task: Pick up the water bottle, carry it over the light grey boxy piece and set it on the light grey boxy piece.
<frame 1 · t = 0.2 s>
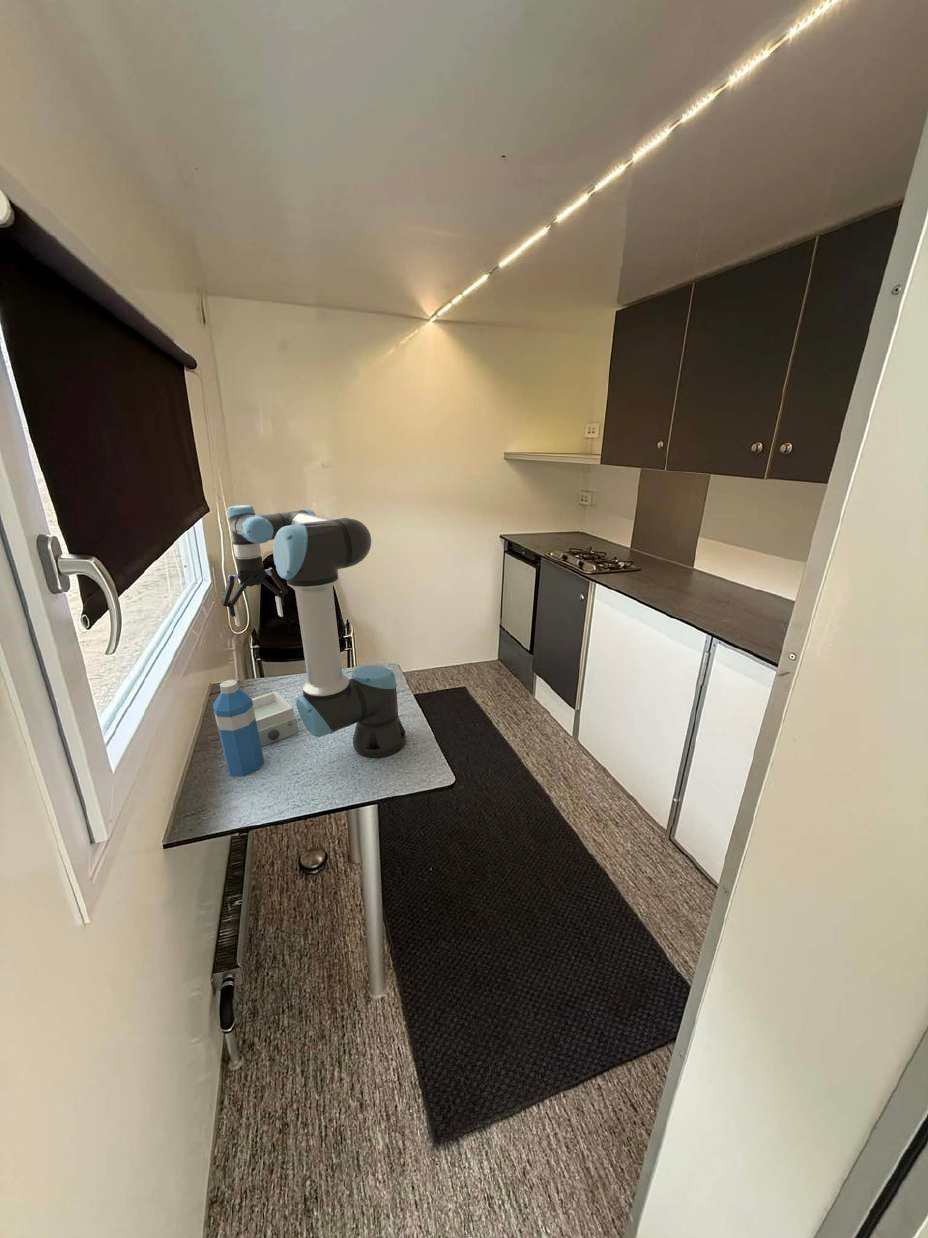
hand: (259, 620, 155), 28 cm above the table, fingers open, 13 cm apart
water bottle: (245, 766, 129), on the table
light grey boxy piece: (265, 730, 145), on the table
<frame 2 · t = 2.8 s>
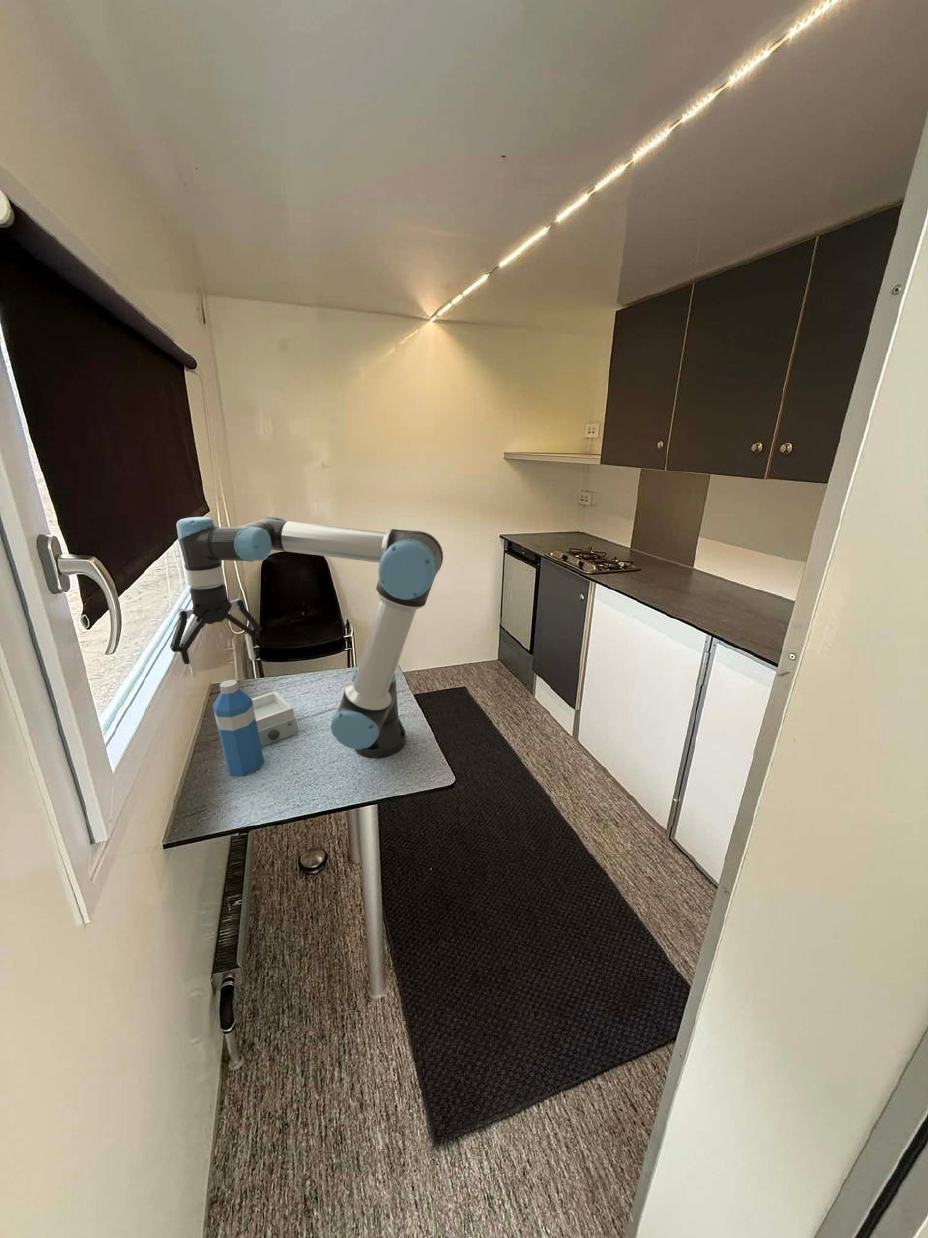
hand: (224, 666, 119), 30 cm above the table, fingers open, 13 cm apart
nothing on the table moved.
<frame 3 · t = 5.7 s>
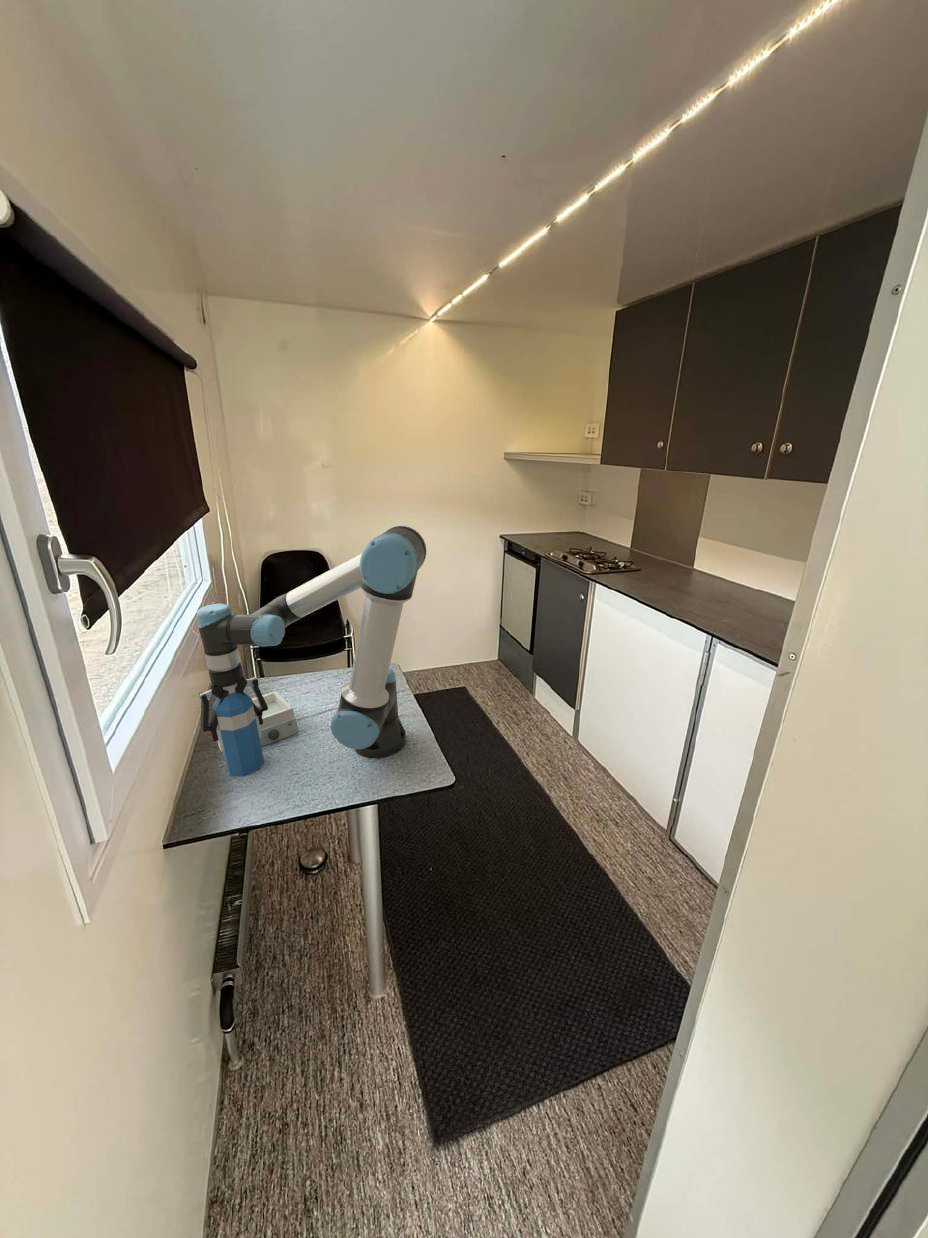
hand: (240, 742, 127), 7 cm above the table, fingers closed on water bottle, 9 cm apart
water bottle: (245, 766, 129), on the table, touching gripper
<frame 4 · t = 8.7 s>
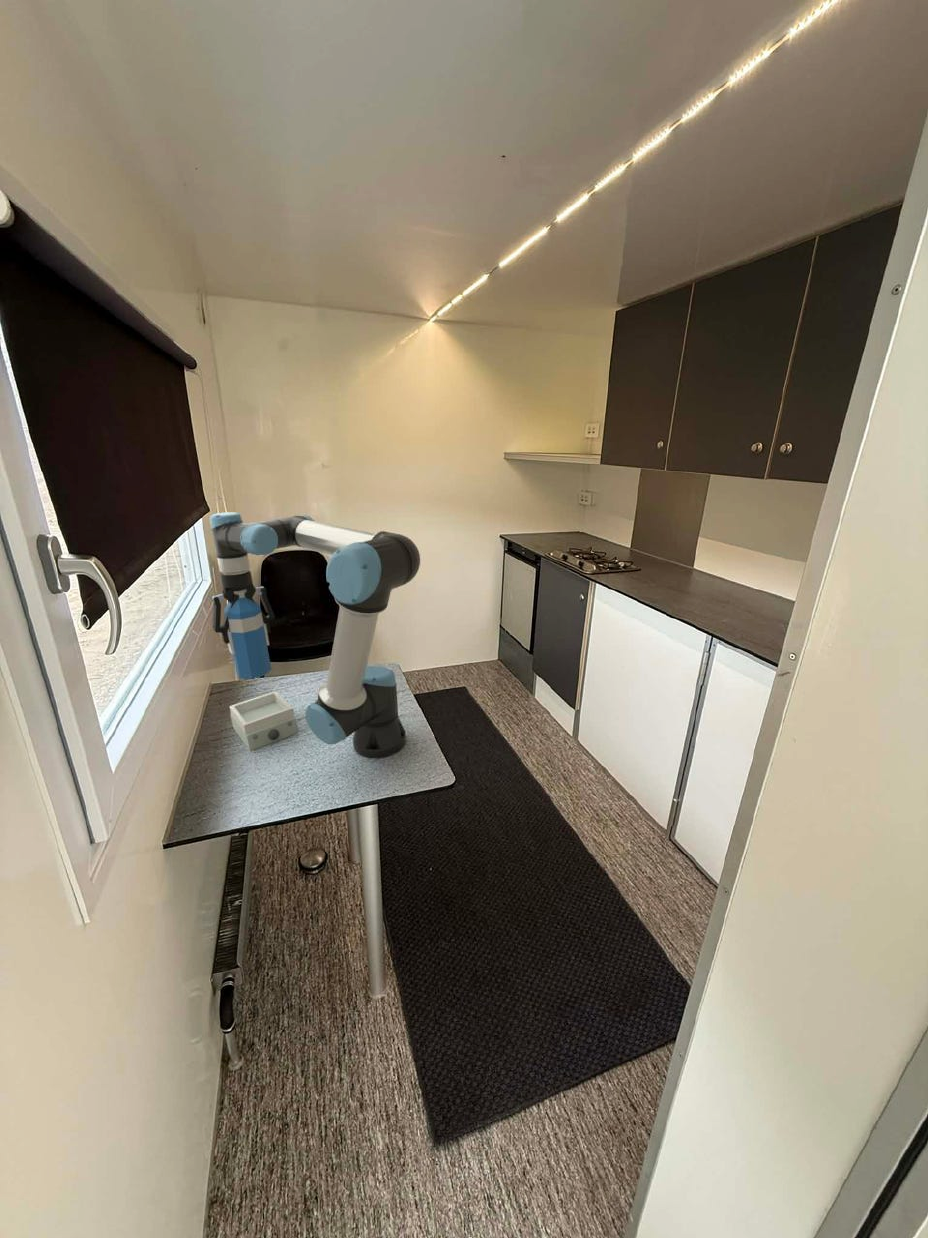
hand: (249, 648, 136), 27 cm above the table, fingers closed on water bottle, 9 cm apart
water bottle: (254, 672, 138), point 20 cm above the table, touching gripper
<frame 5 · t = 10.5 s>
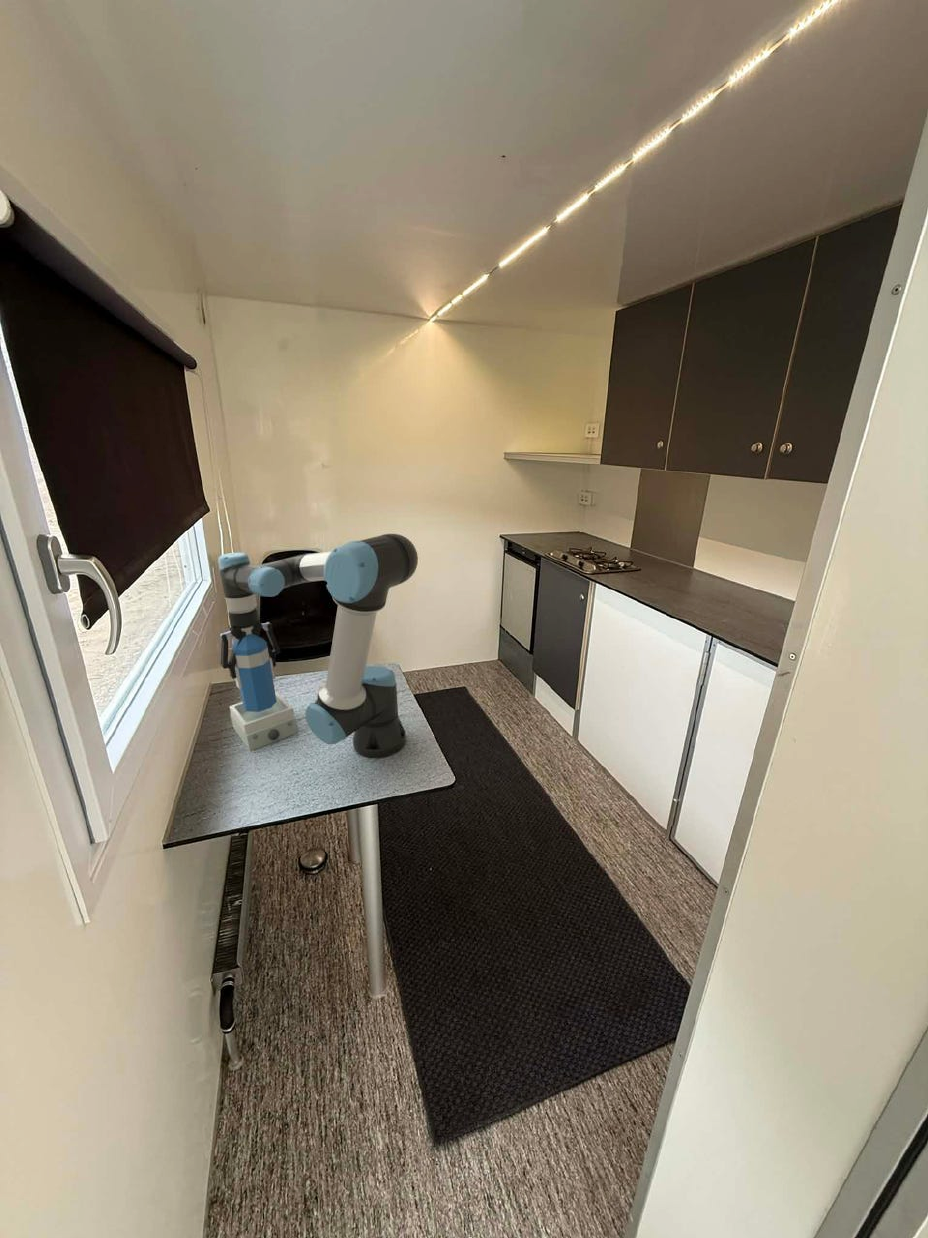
hand: (256, 681, 140), 16 cm above the table, fingers closed on water bottle, 9 cm apart
water bottle: (260, 704, 142), point 9 cm above the table, touching gripper
when the fingers open (14 cm above the table, at t = 12.0 s): water bottle drops 1 cm, resting on light grey boxy piece.
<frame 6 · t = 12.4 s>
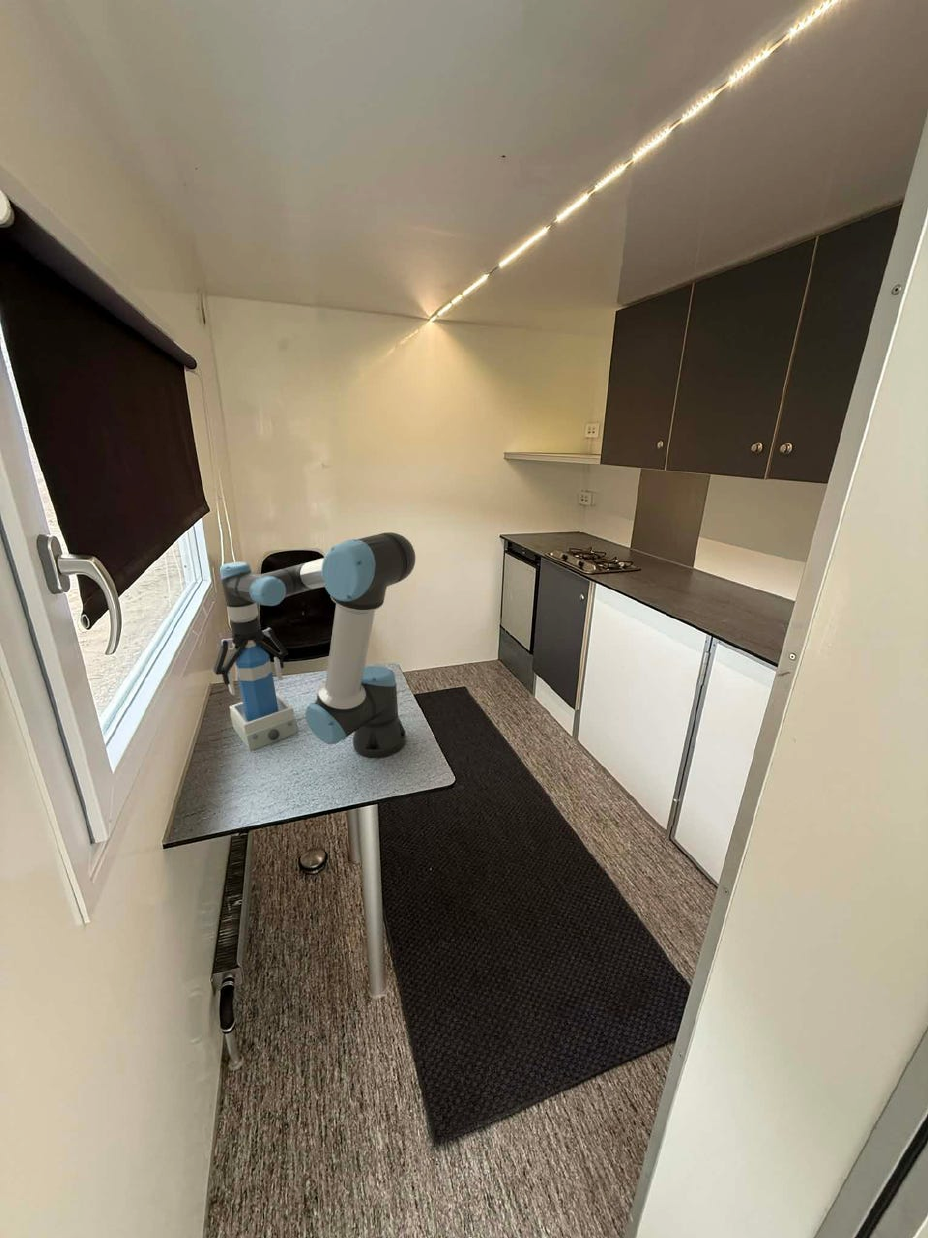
hand: (256, 685, 140), 15 cm above the table, fingers open, 13 cm apart
water bottle: (262, 716, 143), point 5 cm above the table, touching light grey boxy piece
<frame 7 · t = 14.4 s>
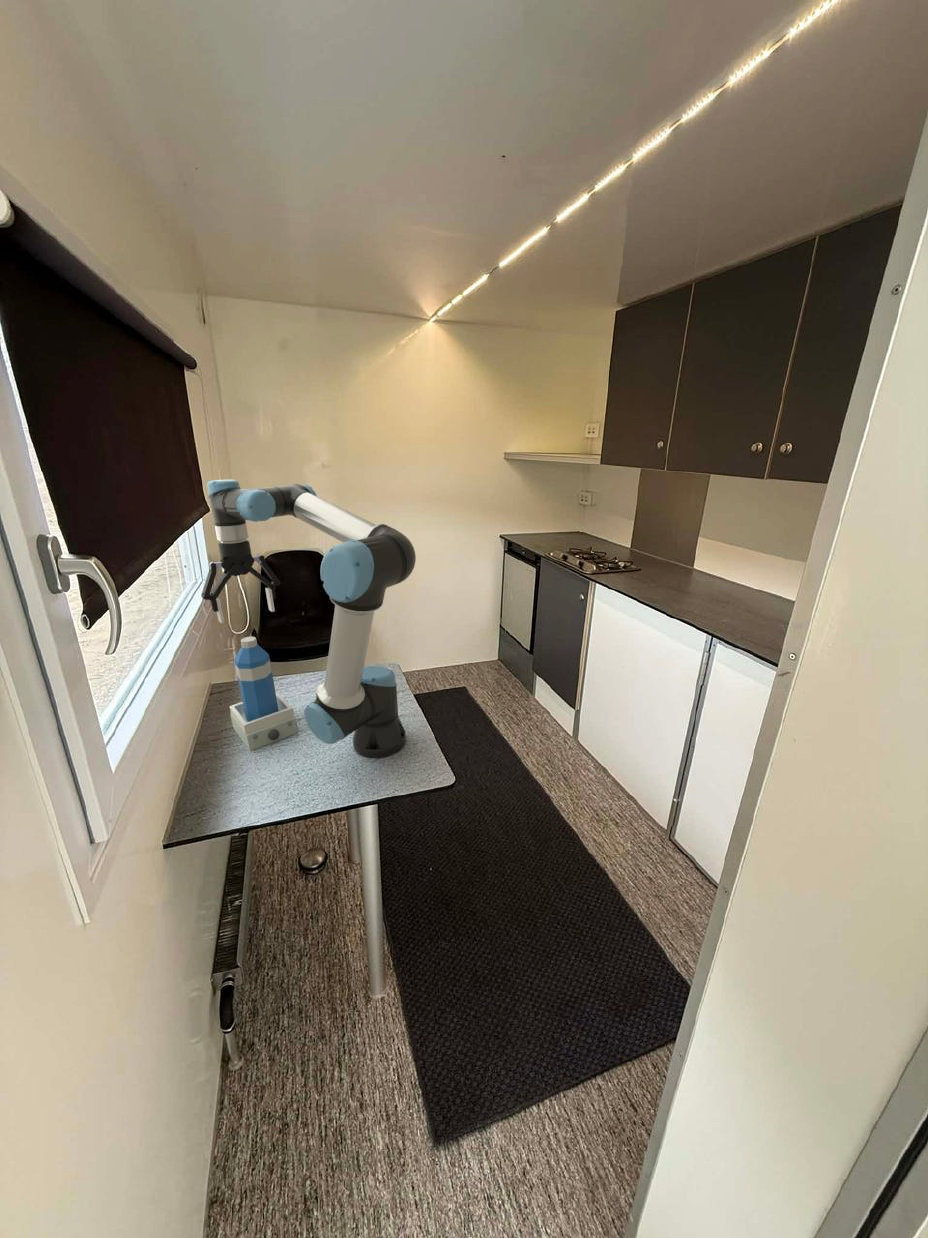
hand: (247, 616, 133), 37 cm above the table, fingers open, 13 cm apart
nothing on the table moved.
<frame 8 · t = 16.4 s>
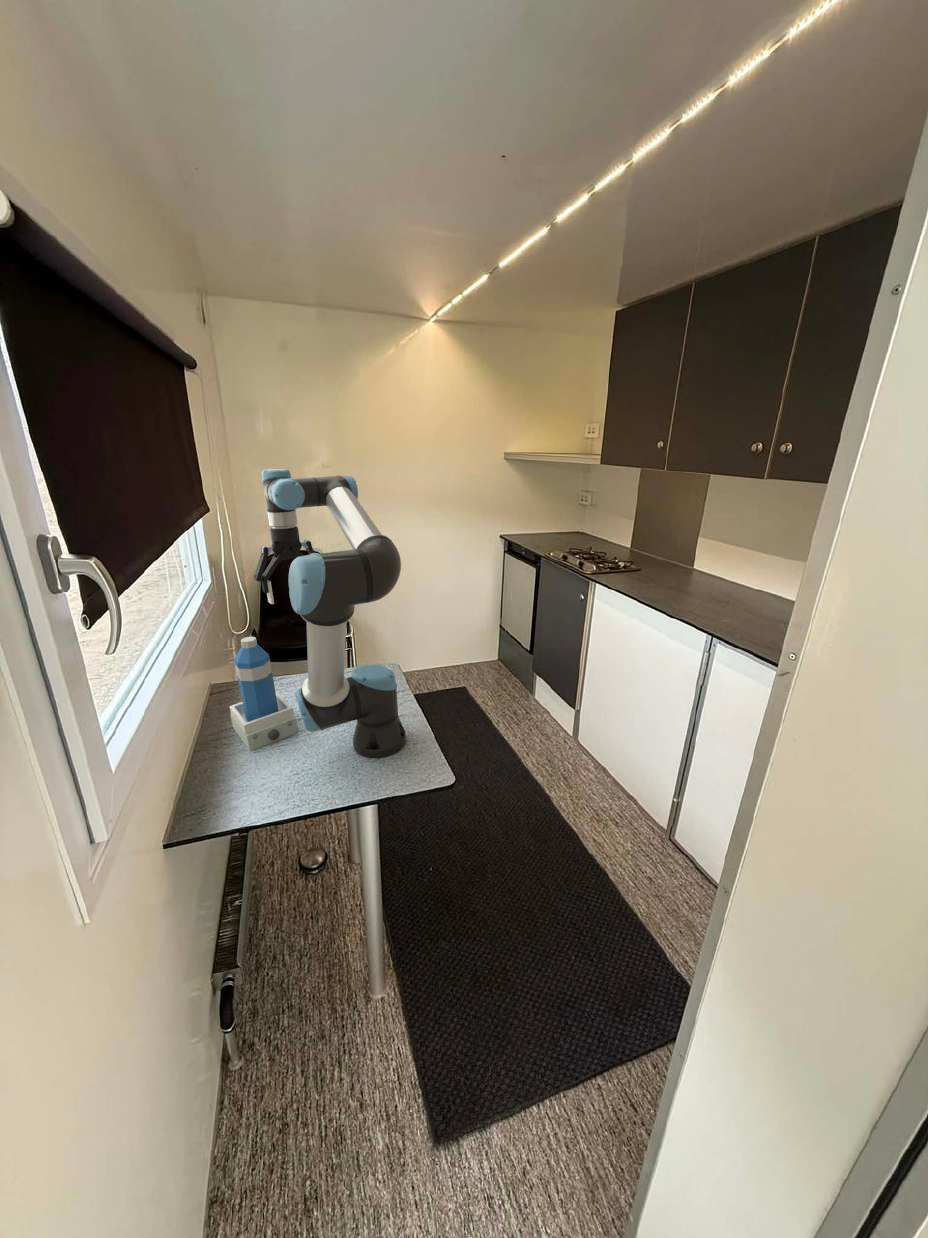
hand: (294, 598, 142), 39 cm above the table, fingers open, 13 cm apart
nothing on the table moved.
at the end: water bottle inside the target area on the light grey boxy piece (0.0 cm from its centre), point 4.8 cm above the light grey boxy piece's base; water bottle tilted 0°; the gripper is holding nothing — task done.
